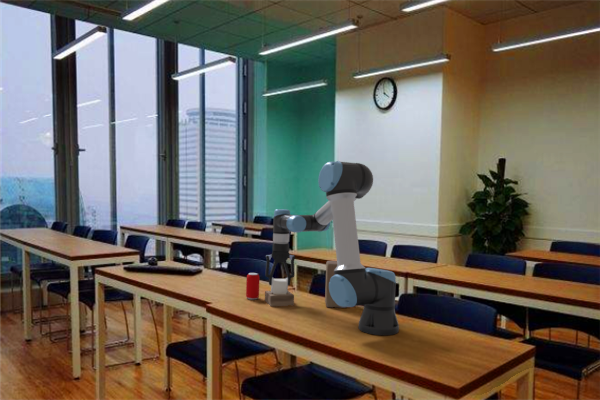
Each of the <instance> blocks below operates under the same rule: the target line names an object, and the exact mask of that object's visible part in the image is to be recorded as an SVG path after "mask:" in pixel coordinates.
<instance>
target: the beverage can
mask: <svg viewBox="0 0 600 400" xmlns="http://www.w3.org/2000/svg"><path fill="white" fill-rule="evenodd" d="M245 286H246V287H245V291H246V292H245V297H246V299H248V300H252V301H253V300H258V298H260V275H259V273H256V272H249V273H248V274H247V275H246V285H245Z"/></svg>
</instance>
